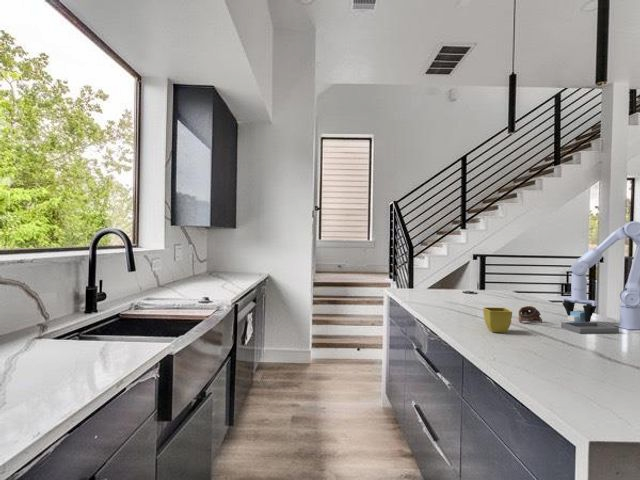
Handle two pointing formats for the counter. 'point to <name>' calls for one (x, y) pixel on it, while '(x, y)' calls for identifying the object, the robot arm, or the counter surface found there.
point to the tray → (589, 327)
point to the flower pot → (497, 319)
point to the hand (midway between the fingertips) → (578, 320)
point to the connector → (577, 316)
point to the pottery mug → (529, 314)
